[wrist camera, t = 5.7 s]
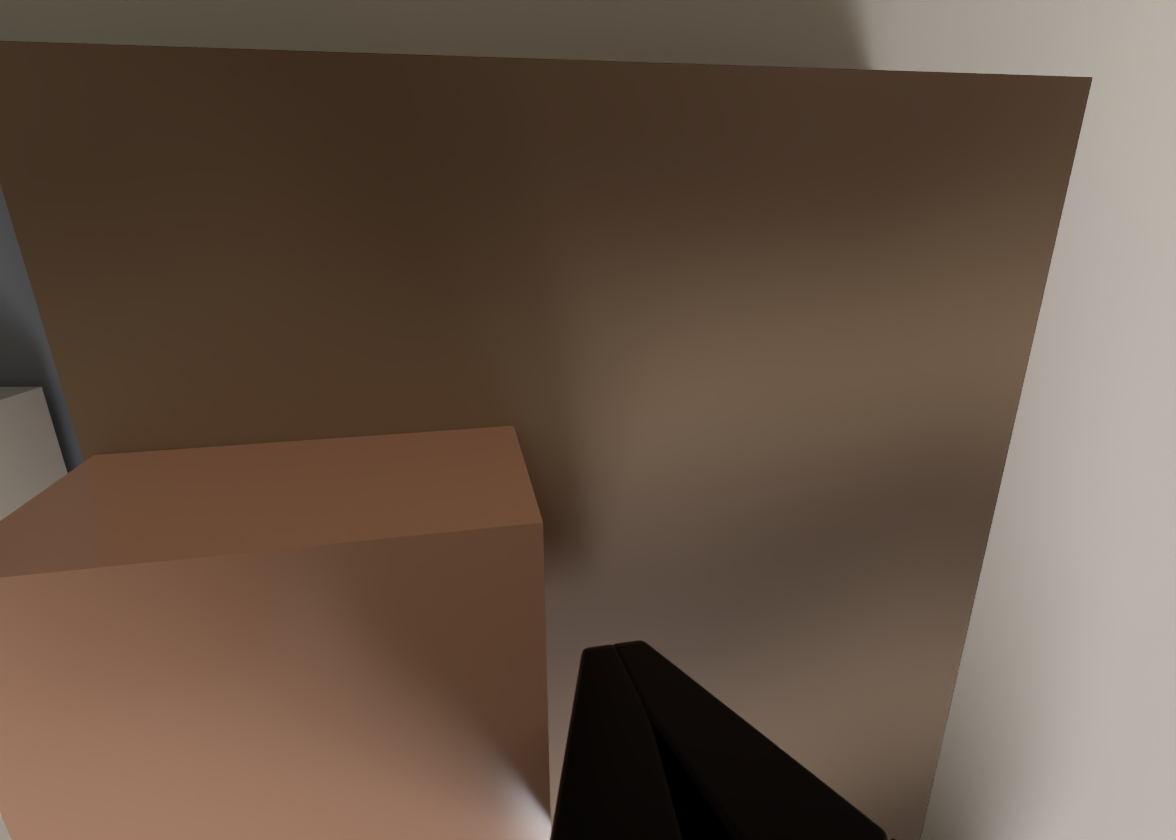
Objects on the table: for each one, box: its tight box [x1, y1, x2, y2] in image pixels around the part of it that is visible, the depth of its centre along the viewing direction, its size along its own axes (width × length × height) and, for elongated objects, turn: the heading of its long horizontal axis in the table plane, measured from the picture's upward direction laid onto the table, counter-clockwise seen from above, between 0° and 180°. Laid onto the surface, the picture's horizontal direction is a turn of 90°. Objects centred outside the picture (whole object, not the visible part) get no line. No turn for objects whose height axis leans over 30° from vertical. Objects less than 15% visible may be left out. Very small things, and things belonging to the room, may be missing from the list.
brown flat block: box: [0, 41, 1092, 840], centre depth 11 cm, size 14×12×4 cm
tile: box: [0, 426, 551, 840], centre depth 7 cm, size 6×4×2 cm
